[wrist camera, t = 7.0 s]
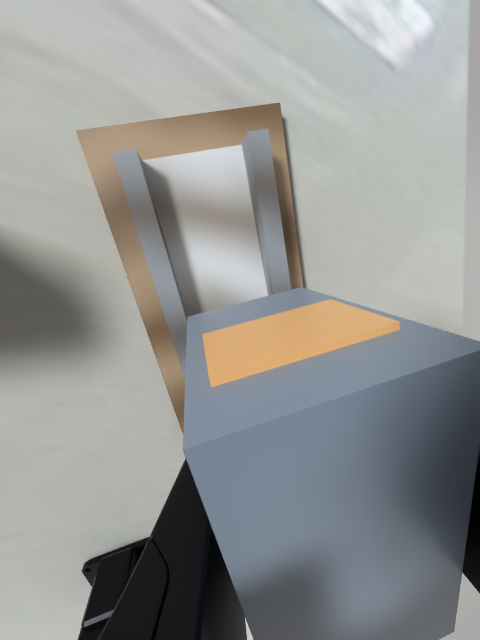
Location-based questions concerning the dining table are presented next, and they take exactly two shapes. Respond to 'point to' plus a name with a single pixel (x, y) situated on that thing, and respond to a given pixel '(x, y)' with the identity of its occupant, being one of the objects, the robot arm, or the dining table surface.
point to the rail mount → (196, 218)
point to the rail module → (334, 463)
